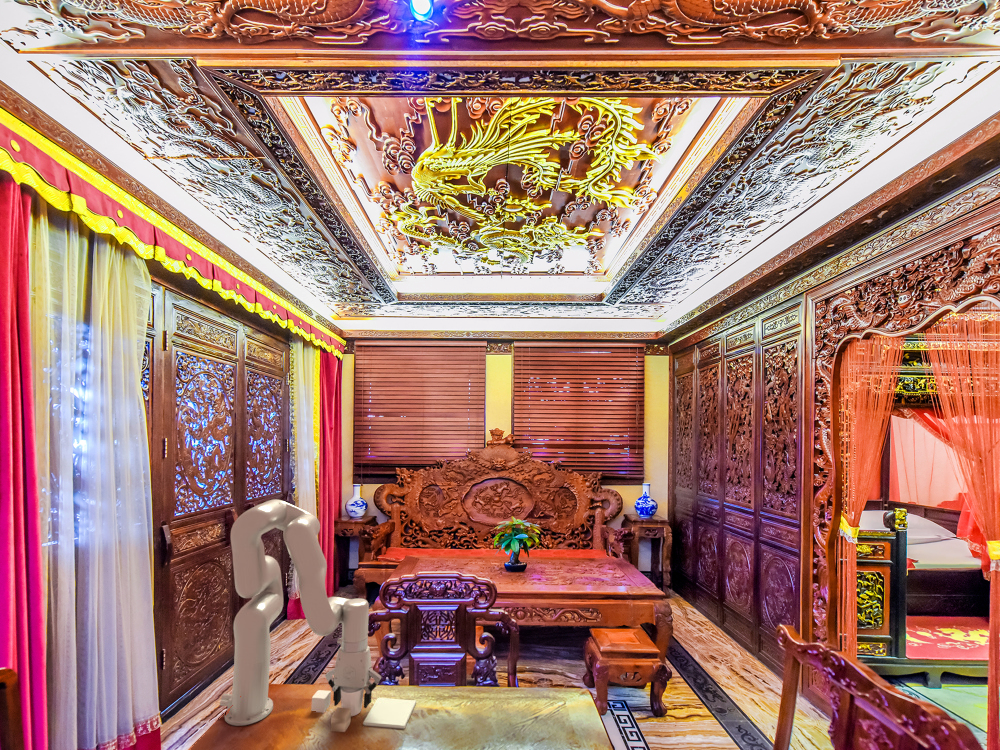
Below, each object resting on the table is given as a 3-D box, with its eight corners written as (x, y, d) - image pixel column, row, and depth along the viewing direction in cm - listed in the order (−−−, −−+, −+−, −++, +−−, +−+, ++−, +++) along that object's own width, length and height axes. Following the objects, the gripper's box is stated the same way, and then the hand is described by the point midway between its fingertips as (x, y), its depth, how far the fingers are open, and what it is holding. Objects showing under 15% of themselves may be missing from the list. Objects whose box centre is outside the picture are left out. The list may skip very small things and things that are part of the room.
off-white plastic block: (311, 711, 141) (311, 697, 142) (317, 703, 145) (318, 689, 146) (324, 712, 141) (324, 698, 141) (330, 704, 145) (330, 690, 145)
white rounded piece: (356, 719, 138) (357, 693, 139) (334, 715, 139) (336, 690, 140) (367, 705, 145) (368, 681, 145) (346, 702, 146) (347, 678, 147)
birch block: (330, 731, 133) (331, 716, 133) (336, 722, 137) (337, 707, 137) (344, 732, 132) (345, 717, 133) (350, 723, 136) (351, 708, 137)
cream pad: (363, 725, 136) (363, 722, 136) (378, 700, 147) (378, 697, 148) (404, 728, 134) (404, 725, 134) (416, 703, 146) (416, 700, 146)
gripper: (321, 647, 141) (318, 709, 139) (378, 651, 139) (375, 714, 138) (332, 636, 148) (329, 694, 147) (386, 639, 147) (384, 699, 145)
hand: (352, 704), depth 142 cm, fingers open, 8 cm apart
